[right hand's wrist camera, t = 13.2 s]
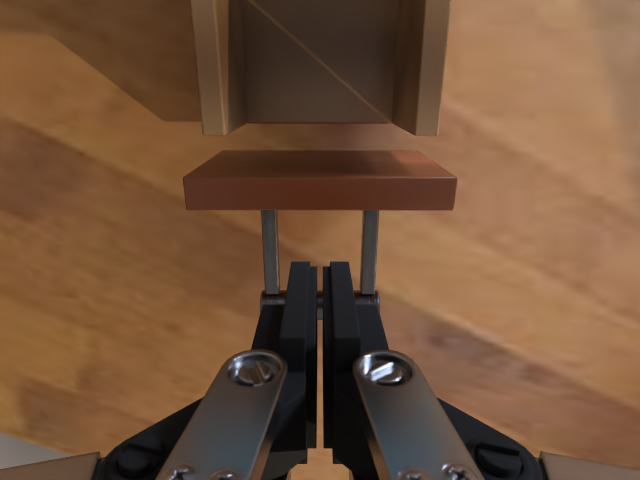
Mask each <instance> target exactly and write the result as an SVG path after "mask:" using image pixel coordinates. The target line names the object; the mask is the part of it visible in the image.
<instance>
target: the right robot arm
mask: <svg viewBox="0 0 640 480" xmlns="http://www.w3.org/2000/svg"><path fill="white" fill-rule="evenodd" d="M316 431H317V267H310V262H291V267H290V274H289V280H288V286H287V292H286V298H285V304H263V306H262V310H261V313H260V317H259V321H258V325H257V329H256V333H255V336H254V340H253V344H252V348H251V350H247V351H243V352H240V353H238V354H235V355H234V356H232V357H231V358H229V359H228V360H227V361H226V362H225V363H224V364H223V365H222V367H221V369H220V370H219V372H218V374H217V375H216V377H215V379H214V381H213V382H212V384H211V386H210V387H209V389H208V391H207V392H206V394H205V396H204V397H203V398H201V399H199V400H197V401H196V402H194V403H192V404H190V405H188V406H187V407H185V408H183V409H181V410H179V411H177V412H176V413H174V414H172V415H170V416H168V417H167V418H165V419H163V420H161V421H159V422H158V423H156V424H154V425H152V426H150V427H149V428H147V429H145V430H143V431H141V432H140V433H138V434H136V435H134V436H132V437H131V438H129V439H127V440H125V441H124V442H122V443H121V444H119V445H118V446H117V447H115V448H114V449H113V450H112V451H111V452H110V453H109V454H108V455H107V456H106V457H103V458H101V455H100V451H98V452H93V453H87V454H82V455H76V456H71V457H65V458H60V459H54V460H49V461H43V462H38V463H33V464H27V465H22V466H16V467H11V468H5V469H0V480H291V469H292V468H293V467H294V466H295V465H297V464H307V450H308V448H316ZM323 431H324V448H332V451H333V464H343V465H345V466H346V467H347V468H348V469H349V480H640V469H635V468H630V467H624V466H619V465H613V464H608V463H602V462H597V461H591V460H586V459H580V458H575V457H569V456H564V455H558V454H553V453H547V452H542V451H540V455H539V458H537V457H534V456H533V455H532V454H531V453H530V452H529V451H528V450H527V449H526V448H525V447H523V446H522V445H521V444H519V443H518V442H516V441H515V440H513V439H511V438H509V437H508V436H506V435H504V434H502V433H500V432H499V431H497V430H495V429H493V428H491V427H490V426H488V425H486V424H484V423H482V422H481V421H479V420H477V419H475V418H473V417H472V416H470V415H468V414H466V413H464V412H463V411H461V410H459V409H457V408H455V407H453V406H452V405H450V404H448V403H446V402H444V401H443V400H441V399H439V398H437V397H436V396H435V394H434V392H433V391H432V389H431V387H430V386H429V384H428V382H427V381H426V379H425V377H424V375H423V374H422V372H421V370H420V369H419V367H418V365H417V364H416V363H415V362H414V361H413V360H412V359H411V358H409V357H408V356H406V355H405V354H402V353H400V352H397V351H393V350H389V348H388V344H387V340H386V336H385V333H384V329H383V325H382V321H381V317H380V313H379V310H378V306H377V304H355V298H354V292H353V286H352V280H351V274H350V267H349V262H330V267H323Z"/></svg>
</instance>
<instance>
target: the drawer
mask: <svg viewBox="0 0 640 480" xmlns="http://www.w3.org/2000/svg"><path fill="white" fill-rule="evenodd" d="M450 5H451V0H190V6H191V17H192V27H193V38H194V48H195V59H196V69H197V80H198V91H199V101H200V112H201V122H202V133H203V135H205V136H224V135H226V134H228V133H230V132H232V131H234V130H235V129H237V128H239V127H241V126H243V125H245V124H247V123H392V124H394V125H396V126H398V127H400V128H402V129H404V130H406V131H408V132H409V133H411V134H413V135H415V136H437V135H438V129H439V119H440V108H441V98H442V88H443V77H444V67H445V57H446V46H447V36H448V26H449V15H450ZM183 185H184V193H185V202H186V209H187V210H261V218H262V238H263V258H264V278H265V290H263V291H262V293H261V299H260V313H261V310H262V306H263V304H285V298H286V292H287V290H280V269H279V242H278V214H277V210H363V217H362V244H361V270H360V290H353V292H354V298H355V304H377V306H378V310H379V313H380V300H379V293H378V291H377V290H375V278H376V259H377V240H378V220H379V210H454V204H455V195H456V187H457V177H456V176H454V175H453V174H451V173H450V172H448V171H447V170H445V169H444V168H442V167H441V166H439V165H438V164H436V163H435V162H433V161H432V160H430V159H429V158H427V157H426V156H424V155H423V154H422V153H420V152H419V151H221V152H220V153H218V154H217V155H215V156H214V157H212V158H211V159H210V160H208V161H207V162H205V163H204V164H202V165H201V166H199V167H198V168H196V169H195V170H193V171H192V172H190V173H189V174H187V175H186V176H184V177H183ZM317 320H323V290H317Z"/></svg>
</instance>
